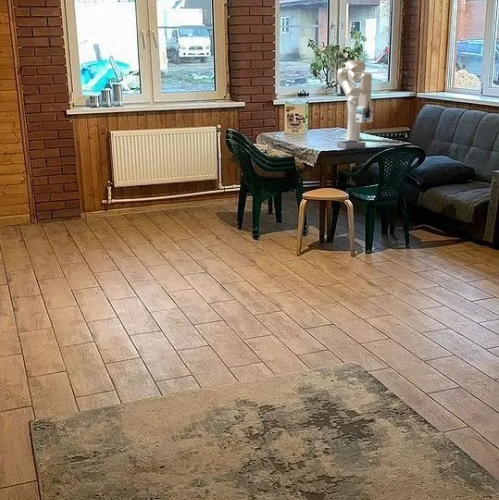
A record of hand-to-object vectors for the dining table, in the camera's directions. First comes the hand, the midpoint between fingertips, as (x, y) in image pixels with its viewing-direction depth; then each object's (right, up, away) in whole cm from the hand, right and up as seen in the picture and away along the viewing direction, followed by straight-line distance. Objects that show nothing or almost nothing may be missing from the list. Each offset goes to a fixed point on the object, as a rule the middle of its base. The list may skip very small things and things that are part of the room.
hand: (364, 116), depth 504 cm
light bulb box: (0, -4, +1) cm, 4 cm away
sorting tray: (-11, -23, -9) cm, 27 cm away
